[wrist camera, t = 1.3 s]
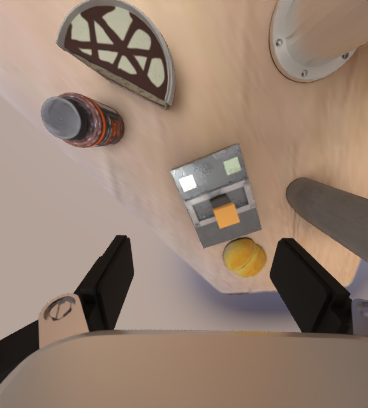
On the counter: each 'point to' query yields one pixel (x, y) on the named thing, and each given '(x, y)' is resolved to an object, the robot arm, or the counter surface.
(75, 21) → the food container
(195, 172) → the panel
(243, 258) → the bread roll
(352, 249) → the flask
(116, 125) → the supplement bottle
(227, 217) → the lever
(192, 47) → the counter surface
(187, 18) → the counter surface
